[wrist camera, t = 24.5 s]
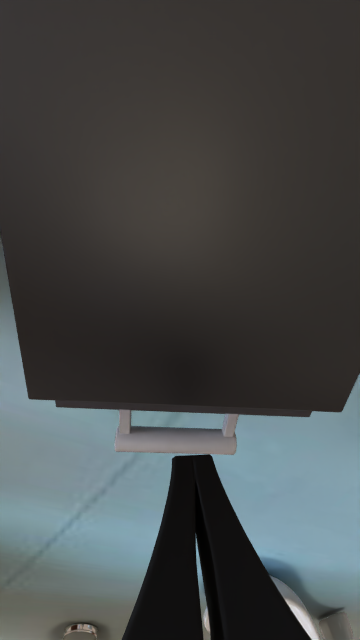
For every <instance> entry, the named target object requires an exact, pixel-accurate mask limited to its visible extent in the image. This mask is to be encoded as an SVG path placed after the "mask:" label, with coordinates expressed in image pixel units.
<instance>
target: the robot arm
mask: <svg viewBox="0 0 360 640" xmlns="http://www.w3.org/2000/svg"><path fill="white" fill-rule="evenodd" d="M196 538H197V544H198V551H199V557H200V564H201V570H202V576H203V583H204V589H205V596H206V602H207V609H208V617H209V625H210V636H211V640H312V639H311V638H310V637H309V635H308V634H307V632H306V631H305V629H304V628H303V626H302V625H301V624H300V622H299V621H298V619H297V618H296V616H295V615H294V613H293V612H292V610H291V609H290V607H289V606H288V604H287V602H286V601H285V599H284V598H283V596H282V595H281V593H280V592H279V590H278V588H277V587H276V585H275V583H274V582H273V580H272V579H271V577H270V575H269V574H268V572H267V570H266V569H265V567H264V565H263V564H262V562H261V560H260V558H259V557H258V555H257V553H256V551H255V550H254V548H253V546H252V544H251V542H250V541H249V539H248V537H247V535H246V533H245V531H244V529H243V527H242V526H241V524H240V522H239V520H238V518H237V515H236V513H235V511H234V509H233V507H232V505H231V503H230V501H229V499H228V497H227V495H226V492H225V490H224V488H223V485H222V483H221V481H220V478H219V476H218V473H217V470H216V467H215V464H214V461H213V458H212V456H211V455H209V454H208V455H189V456H175V457H174V458H172V471H171V480H170V486H169V491H168V496H167V501H166V505H165V509H164V514H163V518H162V522H161V526H160V530H159V533H158V536H157V540H156V543H155V547H154V550H153V553H152V557H151V560H150V563H149V566H148V569H147V572H146V575H145V578H144V581H143V584H142V587H141V590H140V592H139V595H138V598H137V601H136V604H135V606H134V609H133V612H132V614H131V617H130V619H129V622H128V625H127V627H126V630H125V633H124V635H123V638H122V640H203V629H202V619H201V608H200V598H199V587H198V576H197V565H196Z"/></svg>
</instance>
